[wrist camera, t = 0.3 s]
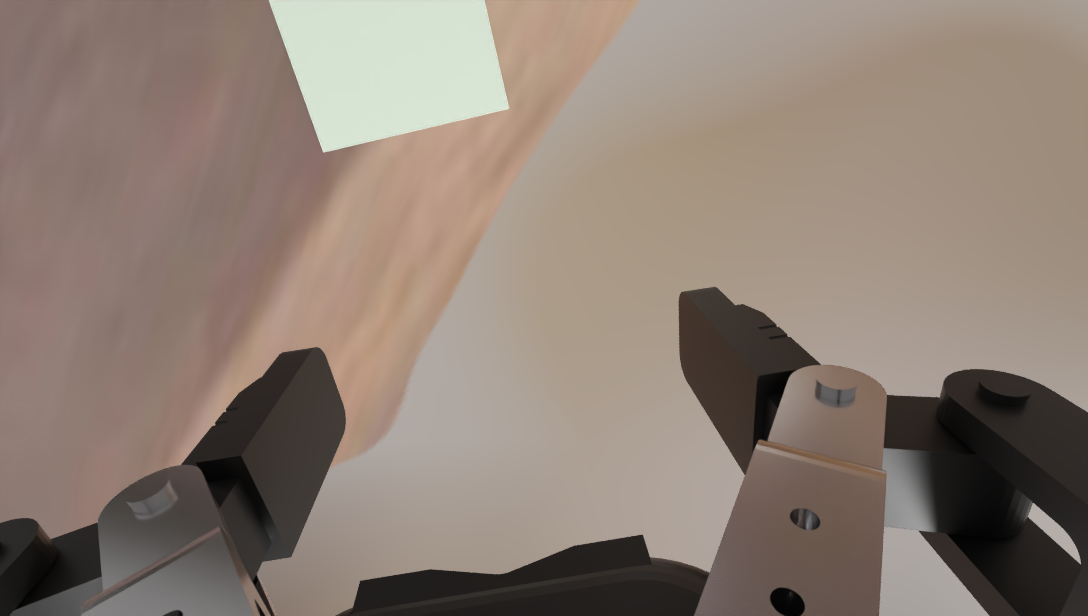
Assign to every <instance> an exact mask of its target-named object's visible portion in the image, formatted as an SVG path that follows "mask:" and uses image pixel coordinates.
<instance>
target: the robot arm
mask: <svg viewBox="0 0 1088 616" xmlns="http://www.w3.org/2000/svg"><path fill="white" fill-rule="evenodd" d="M679 345H680V346H679V348H680V360H681V367H682V370H683V373H684V376H685V379H686V381H687V382H688V384H689V386H690V387H691V388H692V390H693V392H694V394H695V395H696V397H697V398H698V400H699V402H700V403H701V405H702V407H703V408H704V410H705V411H706V413H707V415H708V416H709V418H710V419H711V421H712V422H713V424H714V426H715V428H716V429H717V431H718V432H719V434H720V435H721V437H722V439H723V440H724V442H725V444H726V445H727V447H728V448H729V450H730V452H731V453H732V455H733V457H734V458H735V460H736V462H737V463H738V465H739V466H740V468H741V470H742V471H743V473H744V475H745V477H744V480H743V483H742V486H741V488H740V491H739V494H738V497H737V499H736V502H735V505H734V507H733V510H732V513H731V516H730V519H729V521H728V524H727V527H726V529H725V532H724V535H723V538H722V541H721V543H720V546H719V549H718V552H717V554H716V557H715V560H714V562H713V565H712V568H711V571H710V573H709V572H707V571H704V570H702V569H700V568H697V567H694V566H691V565H688V564H684V563H681V562H677V561H672V560H667V559H660V558H650V557H649V553H648V550H647V547H646V544H645V541H644V537H643V535H638V536H632V537H625V538H620V539H613V540H608V541H601V542H595V543H589V544H583V545H577V546H573V547H570V548H568V549H565V550H563V551H561V552H558V553H555V554H553V555H550V556H548V557H545V558H543V559H541V560H538V561H536V562H533V563H531V564H528V565H526V566H523V567H521V568H518V569H516V570H514V571H511V572H509V573H505V574H483V573H470V572H456V571H444V570H424V571H418V572H412V573H406V574H399V575H393V576H387V577H381V578H375V579H369V580H363V581H360V584H359V587H358V591H357V595H356V599H355V602H354V606H353V608H351V609H348V610H346V611H344V612H342V613H340V614H338V615H336V616H879V605H880V588H881V569H882V552H883V533H884V527H891V528H900V529H909V530H918V531H919V532H920V533H921V535H922V536H923V537H924V538H925V539H926V541H927V542H928V543H929V544H930V545H931V546H932V547H933V549H934V550H935V551H936V552H937V554H938V555H939V556H940V557H941V558H942V559H943V561H944V562H945V563H946V564H947V566H948V567H949V568H950V569H951V570H952V571H953V573H954V574H955V575H956V576H957V577H958V578H959V580H960V581H961V582H962V583H963V585H964V586H965V587H966V588H967V589H968V591H969V592H970V593H971V594H972V595H973V597H974V598H975V599H976V600H977V601H978V602H979V604H980V605H981V606H982V607H983V608H984V610H985V611H986V612H987V613H988V614H989V616H1088V412H1086V411H1085V410H1083V409H1081V408H1080V407H1078V406H1076V405H1075V404H1073V403H1072V402H1070V401H1068V400H1067V399H1065V398H1064V397H1062V396H1060V395H1059V394H1057V393H1055V392H1054V391H1052V390H1050V389H1049V388H1047V387H1045V386H1043V385H1041V384H1039V383H1037V382H1035V381H1032V380H1030V379H1027V378H1024V377H1021V376H1017V375H1014V374H1010V373H1006V372H1000V371H994V370H983V369H971V370H963V371H958V372H954V373H952V374H950V375H949V376H947V377H946V379H945V380H944V383H943V387H942V391H941V395H940V398H938V397H915V396H894V395H886V392H885V389H884V388H883V387H882V386H881V384H880V383H878V382H877V381H876V380H875V379H873V378H871V377H870V376H868V375H866V374H864V373H862V372H859V371H856V370H853V369H850V368H845V367H841V366H834V365H821V364H820V363H819V362H818V361H816V360H815V359H814V358H813V357H812V356H811V355H810V354H809V353H807V352H806V351H805V350H804V349H803V348H802V347H801V346H800V345H799V344H797V343H796V342H795V341H794V340H793V339H792V338H791V337H788V336H787V334H786V333H785V332H784V331H783V330H782V329H781V328H779V327H777V326H776V324H775V323H774V322H773V321H772V320H771V319H770V318H768V317H767V316H766V315H765V314H764V313H762V312H760V311H758V310H755V309H753V308H750V307H748V306H746V305H743V304H741V305H734V304H733V303H732V302H731V301H730V300H729V299H728V298H727V297H726V296H725V295H724V294H723V293H722V292H721V291H720V290H719V289H718V288H716V287H711V288H705V289H698V290H691V291H685V292H681V294H680V297H679ZM215 424H216V425H215V426H212V427H211V428H210V430H209V431H208V432H207V433H206V435H205V436H204V437H203V438H202V439H201V441H200V442H199V443H198V444H197V446H196V447H195V448H194V449H193V451H192V452H191V453H190V454H189V456H188V457H187V458H186V459H185V460H184V462H183V463H182V464H181V465H178V466H173V467H169V468H165V469H162V470H159V471H157V472H154V473H152V474H150V475H147V476H145V477H143V478H141V479H139V480H138V481H136V482H134V483H133V484H131V485H129V486H128V487H127V488H125V489H124V490H122V491H121V492H120V493H119V494H117V495H116V496H115V497H114V498H113V499H112V500H111V501H110V502H109V503H108V504H107V505H106V506H105V507H104V509H103V510H102V512H101V513H100V515H99V518H98V523H95V524H92V525H90V526H87V527H84V528H81V529H78V530H76V531H73V532H70V533H67V534H64V535H61V536H59V537H56V538H53V539H50V538H49V537H48V535H47V534H46V533H45V532H44V530H43V529H42V528H41V526H40V525H39V524H38V522H37V521H35V520H34V519H30V518H20V519H14V520H9V521H5V522H2V523H0V616H277V615H276V613H275V611H274V608H273V606H272V604H271V601H270V599H269V597H268V595H267V593H266V590H265V588H264V586H263V584H262V582H261V580H260V578H259V576H258V574H257V572H258V570H259V568H260V566H261V564H262V562H264V561H270V560H276V559H282V558H288V557H291V556H292V554H293V551H294V549H295V547H296V544H297V542H298V540H299V537H300V535H301V532H302V530H303V528H304V526H305V523H306V521H307V519H308V516H309V514H310V512H311V509H312V507H313V504H314V502H315V500H316V497H317V495H318V492H319V491H320V488H321V486H322V483H323V481H324V479H325V476H326V474H327V472H328V469H329V467H330V465H331V462H332V460H333V458H334V455H335V453H336V451H337V448H338V446H339V444H340V441H341V439H342V437H343V434H344V431H345V424H346V417H345V410H344V406H343V403H342V400H341V397H340V394H339V391H338V389H337V386H336V383H335V380H334V378H333V375H332V372H331V369H330V367H329V364H328V361H327V358H326V356H325V354H324V352H323V351H322V350H321V349H320V348H318V347H315V348H309V349H302V350H295V351H289V352H283V353H281V354H280V355H279V356H278V357H277V358H276V360H275V361H274V362H273V364H272V365H271V366H270V367H269V369H268V370H267V371H266V373H265V374H264V375H263V376H262V378H259V379H258V380H256V381H255V382H254V383H252V384H251V385H249V386H248V387H247V388H245V389H244V390H243V391H241V392H240V393H239V394H238V395H237V396H236V397H235V399H234V400H233V401H232V402H231V404H230V405H229V406H228V407H227V409H226V412H223V413H222V415H221V416H220V417H219V418H218V420H217V421H216V422H215ZM1032 503H1035V504H1036V505H1037V506H1038V507H1039V508H1040V509H1041V510H1043V511H1044V512H1045V513H1046V514H1047V515H1048V516H1049V517H1051V518H1052V519H1053V520H1054V521H1055V522H1057V523H1058V524H1059V525H1060V526H1061V527H1062V528H1063V529H1064V530H1065V531H1066V532H1067V533H1068V535H1069V536H1070V537H1071V539H1072V540H1073V542H1074V544H1075V545H1076V547H1077V550H1078V552H1079V555H1080V559H1081V565H1080V564H1079V563H1078V562H1077V561H1076V560H1075V559H1074V558H1073V557H1071V556H1070V555H1069V554H1068V553H1067V552H1066V551H1065V550H1064V549H1063V548H1061V547H1060V546H1059V545H1058V544H1057V543H1056V542H1055V541H1054V540H1053V539H1052V538H1050V537H1049V536H1048V535H1047V534H1046V533H1045V532H1044V531H1043V530H1042V529H1040V528H1039V527H1038V526H1037V525H1036V524H1035V523H1034V522H1033V521H1032V520H1030V519H1029V518H1028V514H1029V512H1030V509H1031V506H1032Z"/></svg>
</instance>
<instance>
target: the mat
mask: <svg viewBox="0 0 1088 616" xmlns="http://www.w3.org/2000/svg"><path fill="white" fill-rule="evenodd" d="M269 2H270V5H271V8H272V11H273V13H274V16H275V19H276V22H277V24H278V27H279V30H280V33H281V36H282V38H283V41H284V44H285V47H286V50H287V52H288V55H289V58H290V61H291V64H292V66H293V69H294V72H295V75H296V78H297V80H298V83H299V86H300V89H301V91H302V94H303V97H304V100H305V103H306V105H307V108H308V111H309V114H310V117H311V119H312V122H313V125H314V128H315V131H316V133H317V136H318V139H319V142H320V145H321V147H322V150H323V152H328V151H332V150H336V149H341V148H345V147H349V146H353V145H358V144H362V143H366V142H370V141H375V140H379V139H383V138H387V137H392V136H396V135H400V134H404V133H409V132H413V131H417V130H421V129H426V128H430V127H434V126H438V125H443V124H447V123H451V122H455V121H460V120H464V119H468V118H472V117H477V116H481V115H485V114H489V113H494V112H498V111H502V110H506V109H509V106H508V102H507V97H506V93H505V88H504V84H503V80H502V75H501V71H500V67H499V62H498V58H497V53H496V49H495V45H494V40H493V36H492V32H491V27H490V23H489V18H488V14H487V10H486V5H485V1H484V0H269Z"/></svg>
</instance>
